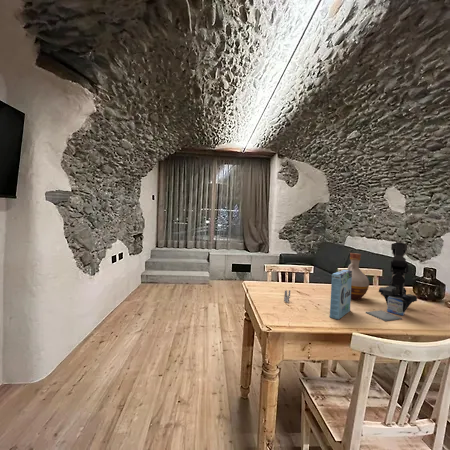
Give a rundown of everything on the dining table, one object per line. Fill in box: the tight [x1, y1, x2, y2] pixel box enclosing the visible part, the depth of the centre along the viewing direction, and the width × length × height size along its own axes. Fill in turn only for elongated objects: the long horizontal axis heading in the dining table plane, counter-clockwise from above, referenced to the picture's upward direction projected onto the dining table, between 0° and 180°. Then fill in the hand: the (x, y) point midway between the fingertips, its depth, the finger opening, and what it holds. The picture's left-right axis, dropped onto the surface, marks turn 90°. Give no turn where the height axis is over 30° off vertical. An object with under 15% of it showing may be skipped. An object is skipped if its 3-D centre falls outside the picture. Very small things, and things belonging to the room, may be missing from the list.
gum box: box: [329, 269, 352, 320], centre depth 142 cm, size 20×5×23 cm, turn 138°
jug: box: [346, 252, 370, 301], centre depth 173 cm, size 20×18×30 cm
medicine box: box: [386, 296, 406, 316], centre depth 148 cm, size 8×4×9 cm, turn 47°
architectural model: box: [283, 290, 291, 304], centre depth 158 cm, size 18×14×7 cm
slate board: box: [365, 309, 403, 322], centre depth 143 cm, size 12×12×1 cm
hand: (395, 309), depth 148 cm, fingers closed on medicine box, 9 cm apart
